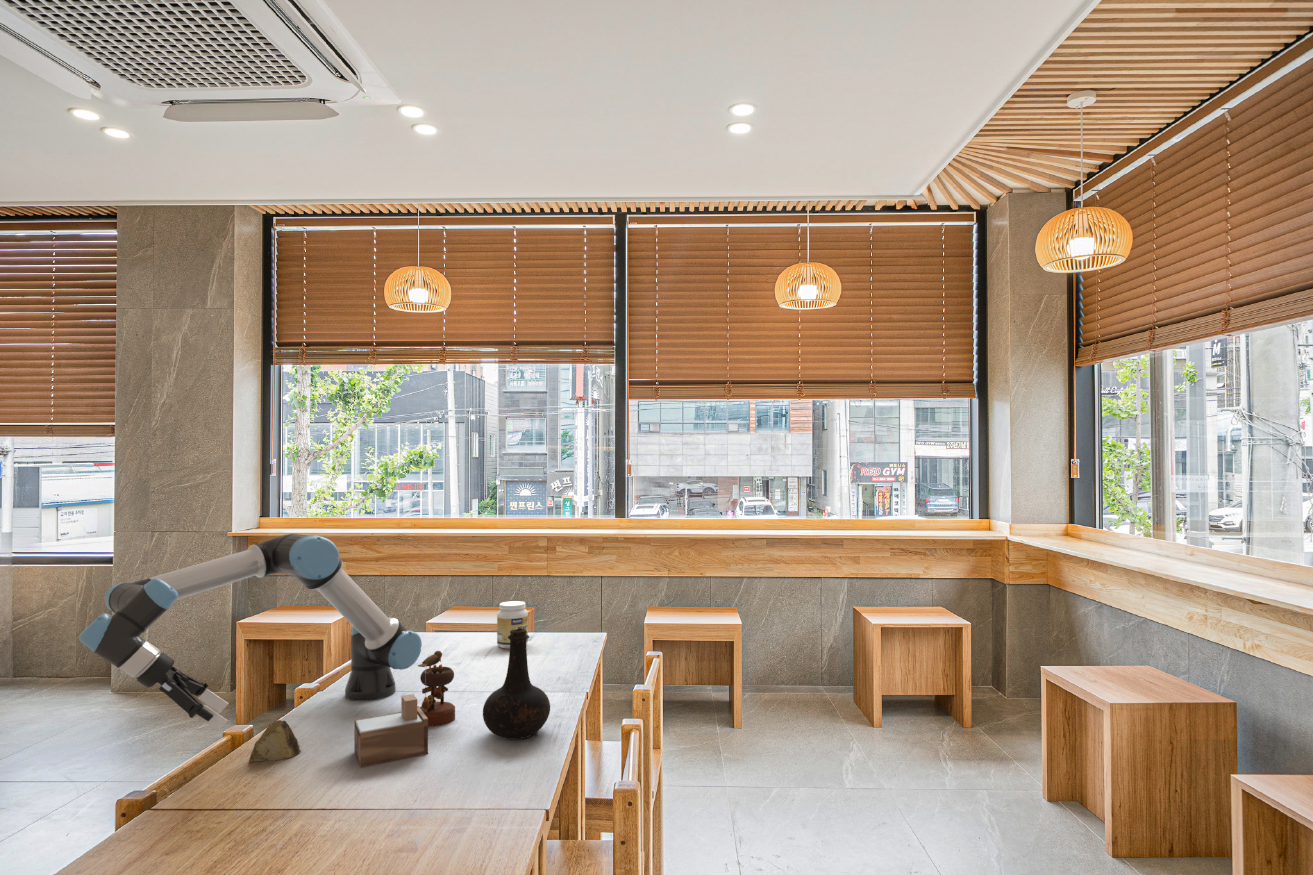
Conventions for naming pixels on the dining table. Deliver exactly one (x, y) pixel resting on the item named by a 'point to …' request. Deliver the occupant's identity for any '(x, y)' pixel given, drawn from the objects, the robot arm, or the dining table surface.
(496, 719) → the glass bottle
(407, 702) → the lid
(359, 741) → the box
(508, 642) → the supplement tub
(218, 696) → the robot arm
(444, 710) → the wooden bird figurine
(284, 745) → the rock
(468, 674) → the dining table surface
